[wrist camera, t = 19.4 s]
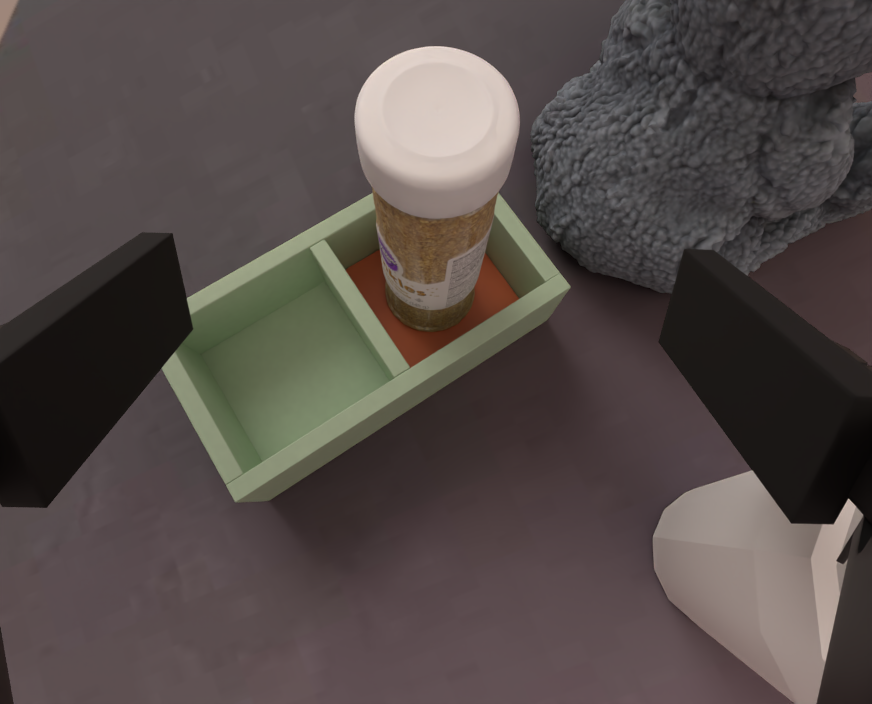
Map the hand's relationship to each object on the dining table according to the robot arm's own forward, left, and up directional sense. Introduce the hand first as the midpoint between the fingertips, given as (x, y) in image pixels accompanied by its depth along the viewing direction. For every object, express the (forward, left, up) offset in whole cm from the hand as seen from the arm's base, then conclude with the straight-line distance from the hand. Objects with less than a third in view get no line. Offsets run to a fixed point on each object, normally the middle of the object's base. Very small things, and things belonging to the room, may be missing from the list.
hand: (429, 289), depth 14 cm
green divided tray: (-4, -1, -13) cm, 14 cm away
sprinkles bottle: (-4, +3, -12) cm, 13 cm away
